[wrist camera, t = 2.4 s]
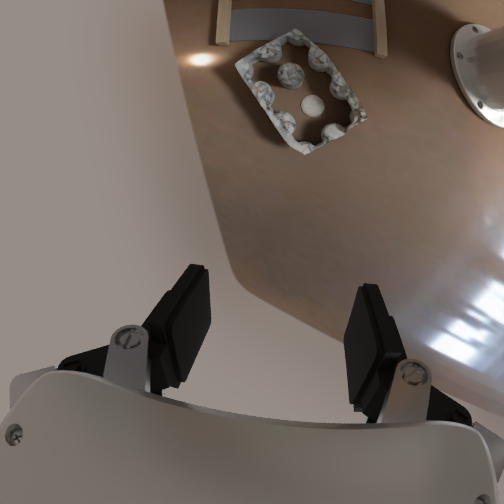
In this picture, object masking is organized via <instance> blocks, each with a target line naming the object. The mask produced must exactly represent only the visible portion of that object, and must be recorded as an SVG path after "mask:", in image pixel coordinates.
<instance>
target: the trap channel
mask: <svg viewBox="0 0 504 504" xmlns="http://www.w3.org/2000/svg"><path fill="white" fill-rule="evenodd" d="M231 6H232V0H219V3H218V16H217V30H216V44H217V45H219V46H226V45H229V37H230V20H231ZM372 10H373V26H374V57H378V58H382V59H385V58H386V57H387V29H386V15H385V4H384V0H372Z"/></svg>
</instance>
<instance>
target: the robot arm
mask: <svg viewBox="0 0 504 504" xmlns="http://www.w3.org/2000/svg"><path fill="white" fill-rule="evenodd" d="M450 58H451V63H452V68H453V72H454V75H455V78H456V80H457V83H458V85H459V88H460V90H461V91H462V93H463V95H464V97H465V99H466V100H467V101H468V103H469V104H470V106H471V107H472V108H473V110H474V111H475V112H476V113H477V114H478V115H479V116H480V117H481V118H482V119H483V120H485V121H486V122H488V123H489V124H491V125H493V126H496V127H499V128H504V26H503V27H500V28H497V29H494V30H491V29H489V28H487V27H485V26H482V25H479V24H468V25H465V26H463V27H461V28H459V29H458V30H457V31H456V32H455V33H454V35H453V37H452V40H451V46H450ZM210 324H211V307H210V291H209V273H208V270H207V269H205V268H204V266H203V265H196V264H190V265H189V266H188V268H187V269H186V270H185V272H184V273H183V274H182V276H181V277H180V278H179V280H178V281H177V282H176V284H175V285H174V286H173V288H172V289H171V290H169V291H167V292H166V293H165V294H164V296H163V297H162V298H161V300H160V301H159V302H158V304H157V305H156V307H155V308H154V309H153V311H152V312H151V313H150V315H149V316H148V318H147V319H146V320H145V322H144V323H143V324H142V326H138V325H127V326H123V327H121V328H119V329H118V330H116V331H115V332H114V333H113V335H112V337H111V340H110V344H109V345H107V346H103V347H100V348H97V349H93V350H90V351H87V352H83V353H79V354H76V355H72V356H70V357H67V358H65V359H64V360H63V361H62V362H61V363H60V364H59V366H58V368H55V366H51V367H47V368H43V369H40V370H36V371H32V372H28V373H24V374H20V375H18V376H16V377H15V378H14V379H13V380H12V382H11V384H10V411H9V412H8V414H7V415H6V417H5V418H4V420H3V421H2V423H1V425H0V504H499V492H498V485H497V483H498V481H499V479H500V476H501V474H502V472H503V469H504V439H502V438H501V437H499V436H498V435H496V434H494V433H493V432H491V431H490V430H488V429H487V428H485V427H484V426H482V425H481V424H479V423H478V422H475V423H474V424H473V423H472V418H471V415H470V413H469V412H468V410H467V409H466V408H465V407H463V406H461V405H460V404H459V403H457V402H456V401H454V400H453V399H451V398H450V397H448V396H447V395H445V394H444V393H442V392H441V391H439V390H438V389H436V388H435V387H433V386H432V385H431V380H432V377H431V372H430V370H429V368H428V367H427V366H426V365H425V364H424V363H422V362H421V361H418V360H416V359H407V356H406V353H405V350H404V347H403V344H402V341H401V338H400V335H399V332H398V329H397V326H396V324H395V321H394V318H393V317H392V316H389V314H388V311H387V308H386V306H385V303H384V300H383V298H382V295H381V292H380V290H379V287H378V285H377V284H367V283H364V284H363V287H362V286H359V288H358V291H357V294H356V298H355V301H354V305H353V308H352V312H351V315H350V318H349V322H348V325H347V328H346V331H345V334H344V350H345V359H346V368H347V379H348V390H349V402H350V404H354V412H362V413H363V414H364V415H366V418H365V421H364V423H363V424H336V423H314V422H313V423H312V422H300V421H288V420H279V419H271V418H263V417H256V416H248V415H243V414H237V413H231V412H225V411H221V410H216V409H211V408H206V407H202V406H197V405H193V404H189V403H185V402H181V401H177V400H174V399H170V398H166V397H165V389H166V388H169V386H171V387H174V388H178V387H179V385H180V383H181V382H185V381H186V379H187V377H188V374H189V372H190V370H191V368H192V365H193V363H194V361H195V358H196V356H197V354H198V352H199V350H200V347H201V345H202V343H203V341H204V338H205V336H206V334H207V332H208V329H209V327H210Z"/></svg>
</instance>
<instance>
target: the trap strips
mask: <svg viewBox="0 0 504 504" xmlns="http://www.w3.org/2000/svg"><path fill="white" fill-rule="evenodd" d="M349 1H355V2H360V3H365V4H369V5H372V0H349ZM293 29H298V30H299V31H301V32H302V33H303V35H304V36H305V37H307V38H308V39H309V40H311V41H312V42H313V43H320V44H328V45H336V46H342V47H349V48H354V49H360V50H365V51H370V52H374V26H373V19H368V18H363V17H358V16H353V15H347V14H341V13H334V12H326V11H317V10H306V9H290V8H246V9H231V20H230V37H229V41H247V40H274V39H276V38H277V37H279V36H283V35H285V34H287V33H289V32H290V31H291V30H293Z"/></svg>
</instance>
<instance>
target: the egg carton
mask: <svg viewBox="0 0 504 504" xmlns="http://www.w3.org/2000/svg"><path fill="white" fill-rule="evenodd" d="M287 42H289V43H291V44H293V45H295V46H303V45H306V46H307V47H308V48H309V49H310V50H309V52H308V63H309V66H310V67H311V68H312V69H314V70H315V71H318V72H325V71H326V72H327V73H328V74H329V75H330V76H331V77H332V81H331V83H330V86H329V89H330V93H331V94H332V95H333V96H334V97H335V98H336V99H339V100H347V101H348V103H349V105H350V107H351V109H352V111H351V112H350V117H349V118H350V122H351V124H350V125H349V126H347V127H346V128H344V127H343V126H342V125H340V124H336V123H331V124H327V125H326V126H325V127H324V128H323V129H322V131H321V138H322V142H321V143H319V144H317V145H315V146H314V145H312V144H311V143H309V142H306V141H302V142H297V141H296V140H295V139H294V138H293V136H292V133H293V132H294V130H295V128H296V123H295V120H294V118H293V117H292V115H290V114H289V112H284V111H280V112H277V113H274V112H273V109H272V108H271V107H270V106H271V104H272V103H273V102H274V98H275V95H274V93H273V91H272V89H271V87H270V85H268V84H267V83H266V82H263V81H258V82H252V81H251V77H252V76H253V74H254V69H253V66H252V65H253V64H254V63H256V62H258V61H264V62H266V63H275V62H277V61H279V60H280V59H281V57H282V49H281V46H282V45H284V44H285V43H287ZM235 67H236V68H237V70H238V72H239V73H240V75H241V77H242V78H243V80H244V81H245V83H246V84H247V85H248V87H249V88H250V90H251V91H252V93H253V94H254V96H255V97H256V98H257V100H258V102H259V103H260V105H261V106H262V107H263V109H264V110H265V112H266V113H267V115H268V116H269V118H270V119H271V121H272V122H273V124H274V125H275V127H276V129H277V130H278V131H279V133H280V134H281V136H282V137H283V139H284V140H285V141H286V142H287V143H288V145H290V146H291V147H292V148H294V149H296V150H298V151H300V152H301V153H303V154H304V155H306V154H308V153H310V152H312V151H313V150H315V149H316V148H319V147H321V146H323V145H324V144H326V143H327V142H328V141H330V140H332V139H333V140H334V139H337V138H339V137H341V136H342V135H344V134H346V131H347V130H348V129H350V128H352V127H354V126H356V125H358V124H360V123H361V122H363V121H365V120H366V119H367V115H366V113H365V111H364V110H363V107H362V105H361V104H360V102H359V101H358V99H357V97H356V95H355V94H354V92H353V91H352V90H351V88H350V87H349V86H348V85H347V83H346V82H345V80H344V78H343V77H342V75H341V74H340V72H339V71H338V70H337V69H336V67H335V66H334V64H333V63H332V61H331V60H330V59H329V57H328V56H327V54H325V53H324V52H323V51H322V50H321V49H320V48H319V47H318V46H317V45H315V44H314V43H313V42H312V41H311V40H309V39H308V38H307V37H305V36H304V35H303V33H302V32H301V31H299V30H298V29H293V30H291V31H290V32H289V33H287V34H285V35H283V36H279V37H277V38H276V39H274V40H273V41H271V42H269V43H267V44H265V45H263V46H262V47H260V48H258V49H256V50H254V51H253V52H252V53H250V54H249V55H248V56H245V57H244V58H242V59H241V60H239V61H238V62H237V63H235ZM277 76H278V80H279V81H280V83H281V84H282V86H284V87H285V88H288V89H297V88H299V87H300V86H301V85H302V84H303V80H304V78H305V73H304V72H303V70H302V68H301V67H300V66H299V65H298V64H294V63H286V64H283V65H281V66H280V67H279V69H278V72H277ZM324 107H325V105H324V102H323V100H322V99H321V98H319V97H318V96H316V95H308V96H306V97H304V98H303V100H302V102H301V108H302V111H303V112H304V114H306V115H307V116H310V117H318V116H320V115H321V114H322V113H323V111H324V109H325V108H324Z"/></svg>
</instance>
